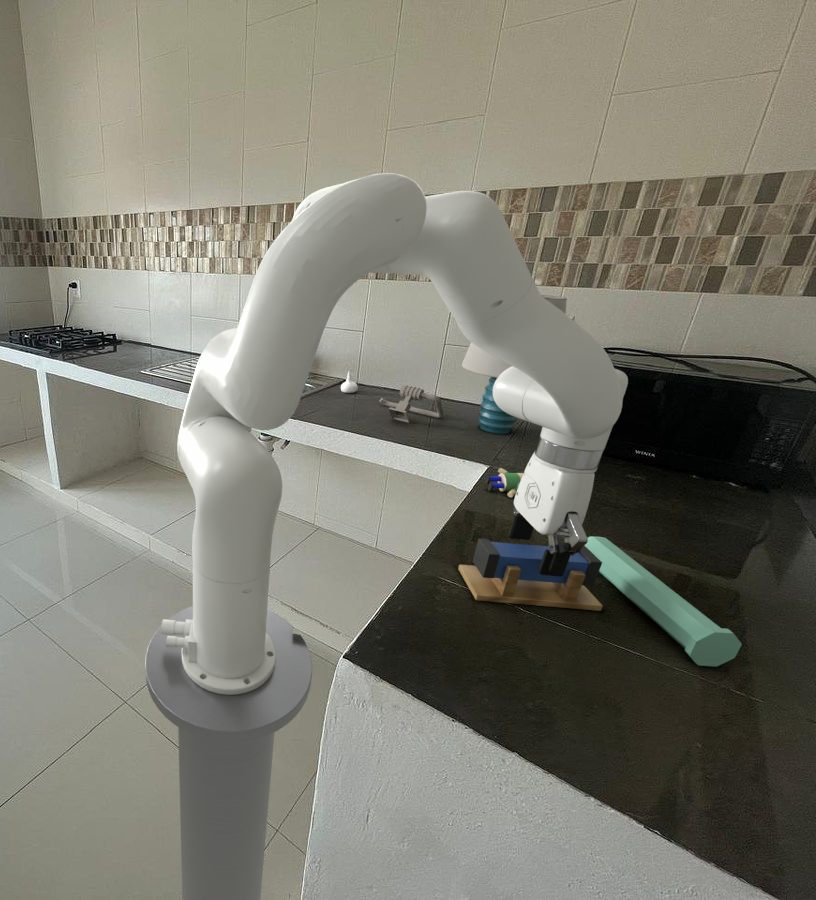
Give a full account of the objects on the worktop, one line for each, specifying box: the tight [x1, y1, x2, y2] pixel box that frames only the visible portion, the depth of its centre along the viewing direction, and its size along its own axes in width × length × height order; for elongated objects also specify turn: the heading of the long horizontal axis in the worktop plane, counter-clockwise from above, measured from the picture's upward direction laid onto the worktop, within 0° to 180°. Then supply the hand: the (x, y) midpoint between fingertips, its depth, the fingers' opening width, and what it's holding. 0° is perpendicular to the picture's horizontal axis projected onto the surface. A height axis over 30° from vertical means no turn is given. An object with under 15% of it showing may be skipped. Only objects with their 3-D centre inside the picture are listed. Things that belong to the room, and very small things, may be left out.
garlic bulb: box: [340, 370, 358, 394], centre depth 184 cm, size 6×6×8 cm
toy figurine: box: [484, 467, 524, 498], centre depth 108 cm, size 8×4×12 cm
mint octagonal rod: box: [585, 535, 743, 668], centre depth 73 cm, size 6×6×25 cm
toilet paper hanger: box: [378, 385, 445, 423], centre depth 158 cm, size 22×11×14 cm
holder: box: [457, 541, 603, 612], centre depth 76 cm, size 18×8×6 cm, turn 83°
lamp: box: [461, 294, 568, 435], centre depth 140 cm, size 25×25×39 cm
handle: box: [472, 538, 602, 587], centre depth 75 cm, size 16×4×4 cm, turn 83°
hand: (533, 555), depth 74 cm, fingers open, 9 cm apart
